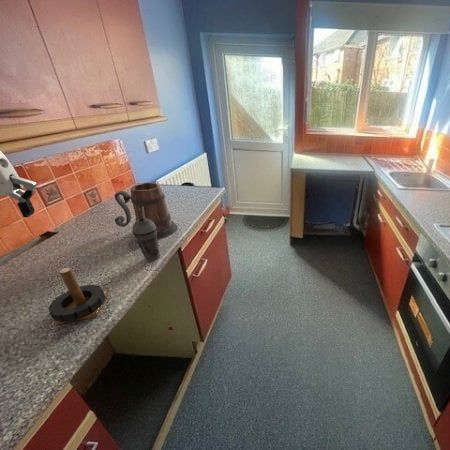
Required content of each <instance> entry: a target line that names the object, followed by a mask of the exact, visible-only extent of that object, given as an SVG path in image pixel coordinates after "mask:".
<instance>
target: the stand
mask: <svg viewBox="0 0 450 450" xmlns="http://www.w3.org/2000/svg"><path fill="white" fill-rule="evenodd" d="M58 272H59V276H61V279H62V280H63V282H64V285H65V286H66V289H67V291H69V292H70V294H71V296H72V298H73V300H74V301H73V302H72V303H70V304H69V305H67V307H66V308H67V309H68V308H73V307H77V306H79V305H82V304H84V303H85V302H87V301H88V300H89V299H90V298H91V297H84V295H83V293H82V291H81V289H80V285H79V282H78V281H77V278H76V277H75V275H74V273H73V271H72V268H71V267H65V268H62V269H60V270H59V271H58ZM103 292H104V295H105V300H104V302H105V301H106V299H107V297H108V294H109V293H108V290H103ZM103 305H104V304H103ZM103 305H101V307H99V308H98V309H97V310H96V311H94V312H93V313H92V312H90V313H91V314H90V315H88V316H85V317H83V318H81V319H79V318H78V319H77V320H75V321H74V322H77V321H81V320H86V319H92V318H97V317H99V315H100V312H101V310H102V308H103ZM53 322H54V324H55V325H61V324H66V323H68V322H59V321H55V320H54V321H53ZM71 322H72V323H73V321H70V322H69V323H71Z"/></svg>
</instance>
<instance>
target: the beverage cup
mask: <svg viewBox="0 0 450 450" xmlns="http://www.w3.org/2000/svg"><path fill="white" fill-rule="evenodd" d="M142 213H143V219H139V220H137V221H136V220H135V222H134V223H133V225H132V234H133V236H134V238H135V240H136V241H137V243H138V247H139V248H140V250H141V253H142V255H143V258H144V259H145V261H146V262H154V261H157V260H158V259H160V258H161V257H160V249H159V248H160V247H159V242H158V239H157V227H156V225H155V224H154V222H152V221H151V220H149V219H145V214H144V207H142Z"/></svg>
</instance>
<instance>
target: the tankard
mask: <svg viewBox="0 0 450 450" xmlns="http://www.w3.org/2000/svg"><path fill="white" fill-rule="evenodd" d="M120 195H121V196H122V198H121V196H120ZM114 200H115V201H116V202H117V204H118V205H119V207H121V208H122V209H123V211H124V213H125V217H126V220H125V217H124V216H123V215H119V216H117V217H116V218H114V223H115V225H117V226H118V227H120V228H121V227H122V228H124V227H127V226H128V225H129V224H130V223H131V220H132V215H131V211H130V208H129V207H128V205H127V204H128V203H129V202H130V201H131V204H132V207H133V211H134V215H135V222H136V221H137V220H139V219H143V213H142V207H144V214H145V219H149V220H151V221H152V222H154V224H155V225H156V227H157V240H159V239H160V240H161V239H164V238H167V237H169V236H171V235H173V234H174V233H176V232H177V231H178V229H177V226H178V224H177V223H175V222H174V221H173V220H172V216H171V213H170V212H169V208H168V205H167V202H166V195H165V193H164V192H163V190H162V188H161V186H160V184H159V183H156V182H143V183H140V184H135V185H132V186H130V194H129V192H126V191H124V190H120V191H117V192H116V193H115V194H114ZM176 224H177V225H176Z"/></svg>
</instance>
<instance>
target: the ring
mask: <svg viewBox="0 0 450 450" xmlns="http://www.w3.org/2000/svg"><path fill="white" fill-rule="evenodd" d="M79 287H80V289H81V291H82V293H83V295H84V297H91V298H90V299H89V300H88V301H87V302H85V303H84V304H82V305H79V306H77V307H73V308H68V309H67V308H66V307H67V305H69V304H70V303H72V302H73V301H74V300H73V298H72V296H71V294H70V292H69V290H67V291H66V292H63V293H62V294H59V295H58V296H57V297H55V298H54V299H53V300H52V301H51V303H50V304H49V306H48V312H49V314H50V316H51V318H52V319H53V320H54V321H59V322H67V323H71V322H70V321H72V322H76V321H75V320H77V319H78V318H79V319H81V318H83V317H85V316H88V315H90V314H91V313H90V312H92V313H93V312H94V311H96V310H97V309H98V308H99V307H101V305H104V303H105V301H106V299H105V295H104V292H103V291H104V290H103V289H102V287H101V286H100V285H95V284H87V285H79ZM104 300H105V301H104ZM77 321H78V320H77Z"/></svg>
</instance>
